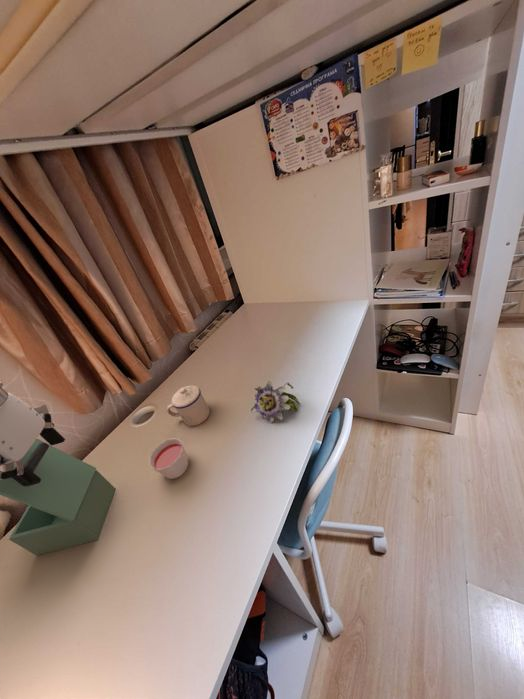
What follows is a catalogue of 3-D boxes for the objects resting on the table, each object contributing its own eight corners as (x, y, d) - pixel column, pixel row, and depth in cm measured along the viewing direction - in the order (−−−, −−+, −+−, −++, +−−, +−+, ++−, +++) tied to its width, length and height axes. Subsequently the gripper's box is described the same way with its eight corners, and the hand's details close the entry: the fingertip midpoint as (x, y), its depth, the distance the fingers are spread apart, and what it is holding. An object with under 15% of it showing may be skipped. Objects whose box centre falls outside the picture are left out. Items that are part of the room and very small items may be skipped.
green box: (36, 555, 67) (8, 539, 63) (62, 502, 78) (40, 485, 73) (97, 540, 66) (74, 522, 61) (115, 488, 77) (96, 469, 72)
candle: (156, 466, 79) (145, 453, 75) (186, 446, 82) (176, 432, 78) (166, 490, 72) (154, 476, 69) (197, 467, 75) (187, 453, 72)
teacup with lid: (210, 401, 95) (197, 375, 89) (210, 421, 87) (195, 394, 81) (176, 412, 95) (160, 387, 89) (173, 433, 88) (155, 407, 81)
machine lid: (-10, 491, 53) (6, 478, 52) (29, 437, 64) (43, 425, 63) (71, 521, 61) (87, 511, 60) (94, 469, 72) (108, 459, 70)
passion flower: (277, 432, 84) (244, 417, 79) (279, 401, 91) (248, 385, 86) (304, 419, 77) (270, 401, 72) (304, 386, 84) (272, 367, 80)
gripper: (-5, 379, 58) (52, 433, 67) (-82, 451, 43) (3, 507, 53) (29, 369, 57) (81, 425, 67) (-38, 438, 43) (40, 497, 52)
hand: (47, 461), depth 60 cm, fingers open, 9 cm apart
